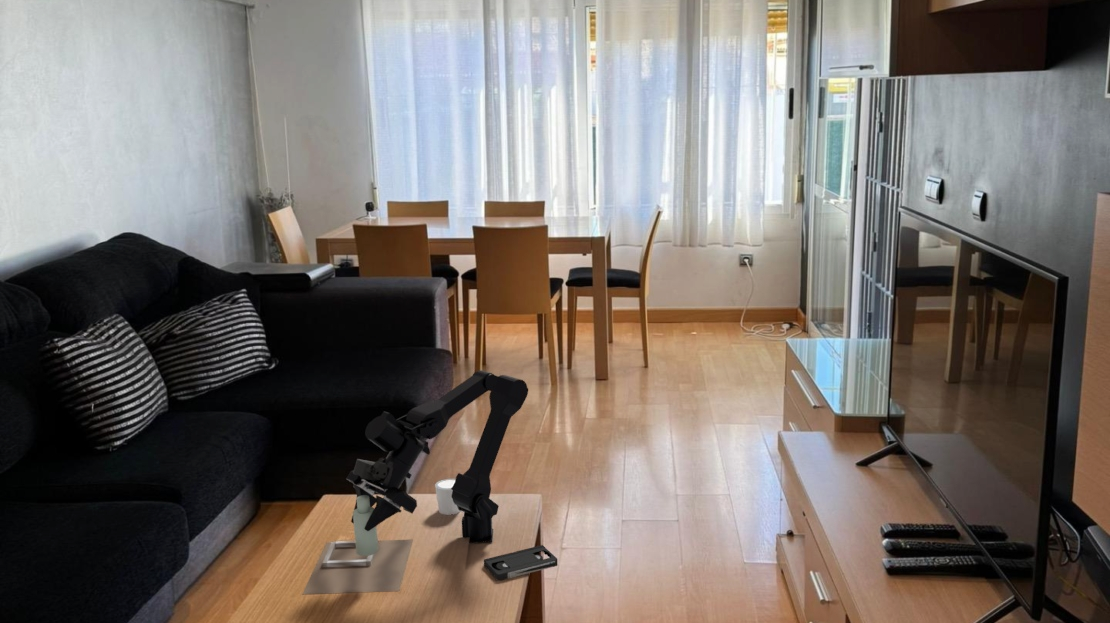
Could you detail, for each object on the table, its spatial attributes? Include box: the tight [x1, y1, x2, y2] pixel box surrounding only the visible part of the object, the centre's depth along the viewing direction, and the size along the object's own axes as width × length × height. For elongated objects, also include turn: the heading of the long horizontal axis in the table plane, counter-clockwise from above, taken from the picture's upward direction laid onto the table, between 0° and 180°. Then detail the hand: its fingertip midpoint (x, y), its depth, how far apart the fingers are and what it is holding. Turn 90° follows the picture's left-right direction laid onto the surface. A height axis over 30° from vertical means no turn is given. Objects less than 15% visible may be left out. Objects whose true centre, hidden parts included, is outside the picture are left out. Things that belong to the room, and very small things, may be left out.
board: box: [301, 538, 414, 596], centre depth 216 cm, size 20×24×2 cm
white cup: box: [434, 478, 461, 516], centre depth 245 cm, size 7×7×7 cm
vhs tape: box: [483, 544, 559, 582], centre depth 216 cm, size 14×8×2 cm, turn 116°
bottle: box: [352, 495, 379, 556], centre depth 207 cm, size 5×5×12 cm
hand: (359, 526), depth 206 cm, fingers closed on bottle, 5 cm apart
